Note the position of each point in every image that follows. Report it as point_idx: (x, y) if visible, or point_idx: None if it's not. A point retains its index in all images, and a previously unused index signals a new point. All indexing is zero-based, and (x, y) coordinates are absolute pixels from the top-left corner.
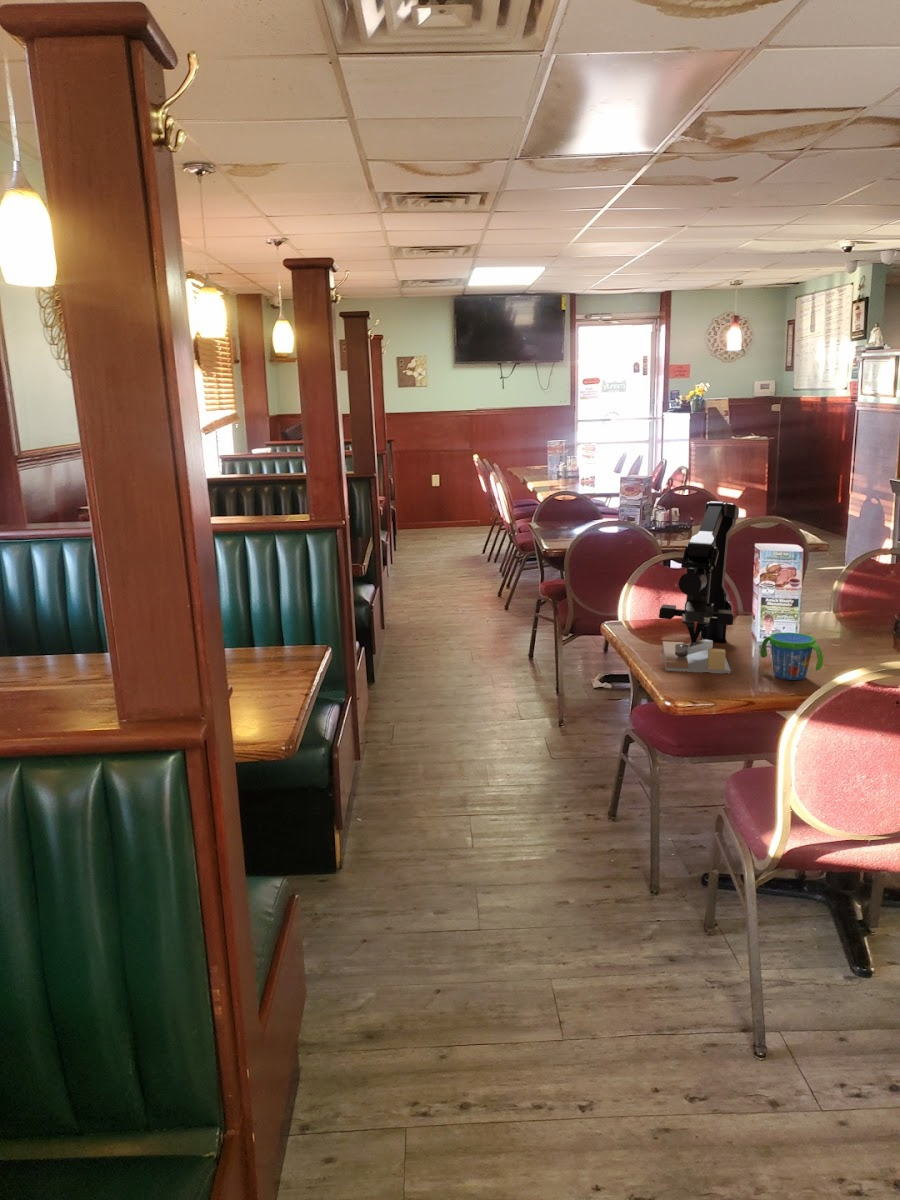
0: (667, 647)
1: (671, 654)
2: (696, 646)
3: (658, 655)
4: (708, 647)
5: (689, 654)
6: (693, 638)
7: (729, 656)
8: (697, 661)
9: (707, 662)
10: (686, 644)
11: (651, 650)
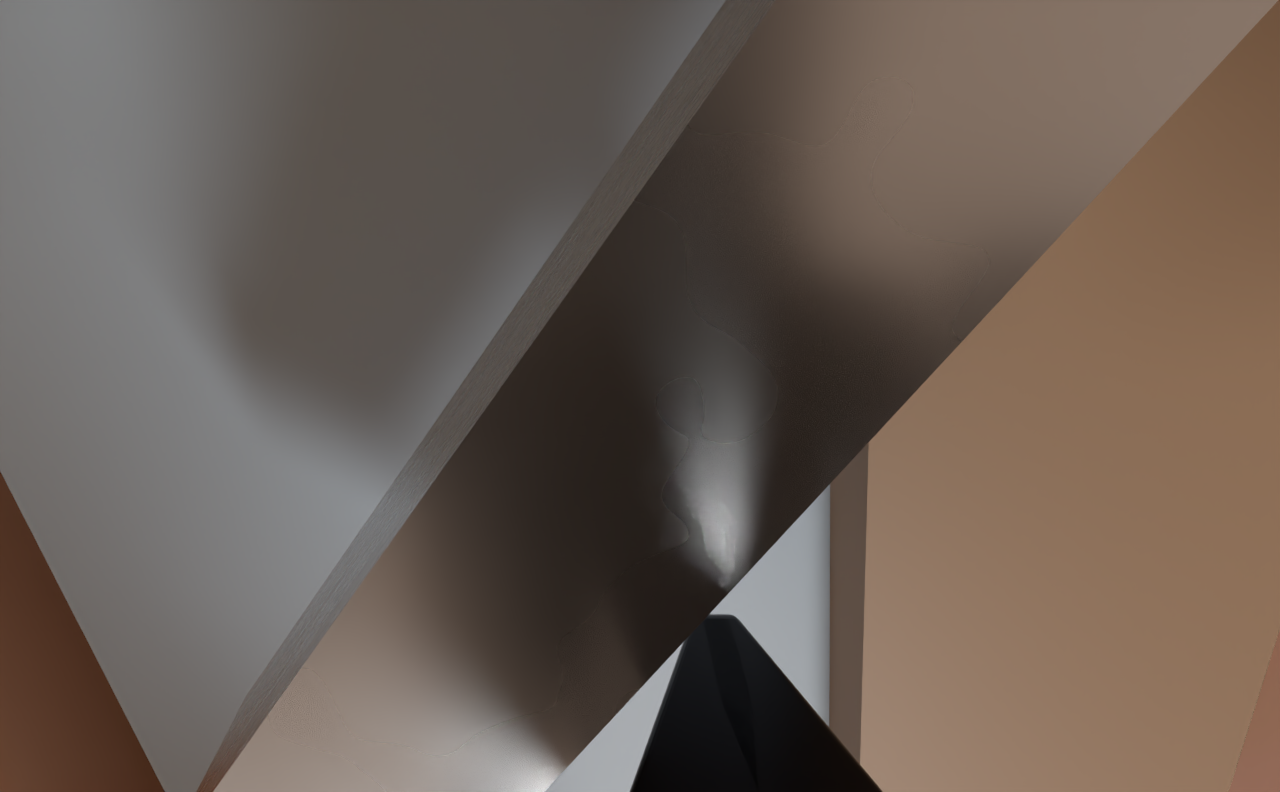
0: (1199, 653)
1: (1264, 130)
2: (631, 180)
3: None
4: (308, 615)
5: (740, 588)
6: (772, 773)
7: (102, 763)
8: (571, 150)
9: (333, 124)
10: (1071, 177)
11: (1272, 728)
